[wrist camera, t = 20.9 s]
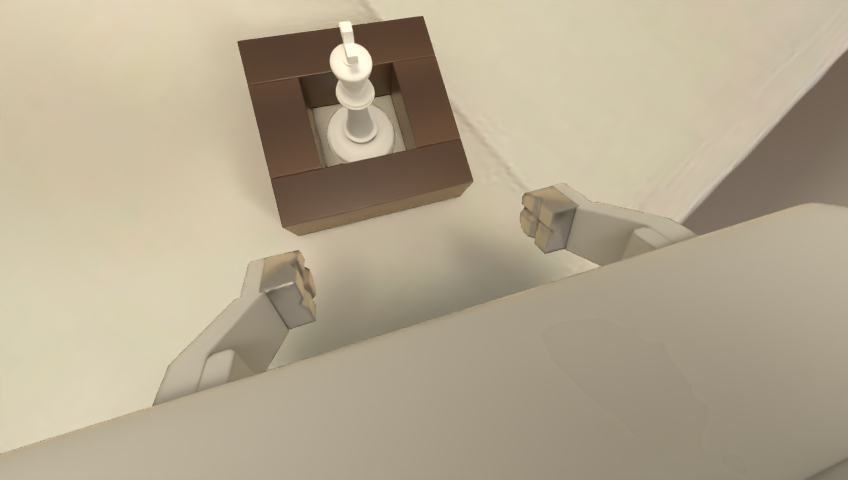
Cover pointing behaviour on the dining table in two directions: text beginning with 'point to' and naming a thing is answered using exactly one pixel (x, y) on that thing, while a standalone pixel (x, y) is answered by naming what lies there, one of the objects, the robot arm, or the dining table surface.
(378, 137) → the chess piece
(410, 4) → the dining table surface
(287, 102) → the socket block
